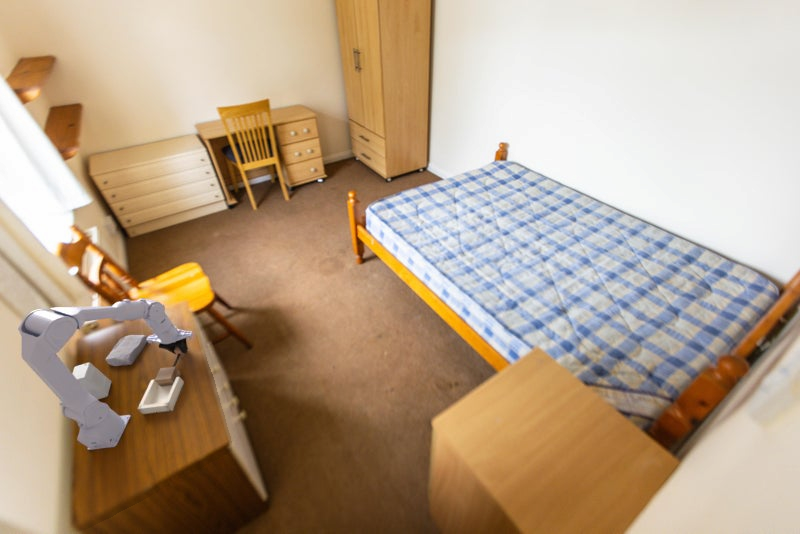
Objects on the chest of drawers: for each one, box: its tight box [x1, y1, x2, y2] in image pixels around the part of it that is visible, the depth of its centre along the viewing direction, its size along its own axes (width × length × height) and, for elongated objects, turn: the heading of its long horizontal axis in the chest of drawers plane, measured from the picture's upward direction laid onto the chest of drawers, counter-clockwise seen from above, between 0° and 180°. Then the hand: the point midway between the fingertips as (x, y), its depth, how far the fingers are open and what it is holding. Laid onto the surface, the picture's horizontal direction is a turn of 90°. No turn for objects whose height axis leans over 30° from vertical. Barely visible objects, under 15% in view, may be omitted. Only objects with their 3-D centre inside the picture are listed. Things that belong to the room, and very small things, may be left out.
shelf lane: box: [137, 376, 185, 415], centre depth 112 cm, size 10×9×4 cm
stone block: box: [105, 334, 148, 367], centre depth 127 cm, size 12×5×10 cm
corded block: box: [155, 347, 187, 387], centre depth 120 cm, size 15×5×4 cm, turn 6°
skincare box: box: [71, 362, 112, 400], centre depth 112 cm, size 6×4×12 cm
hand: (181, 351), depth 125 cm, fingers open, 3 cm apart
